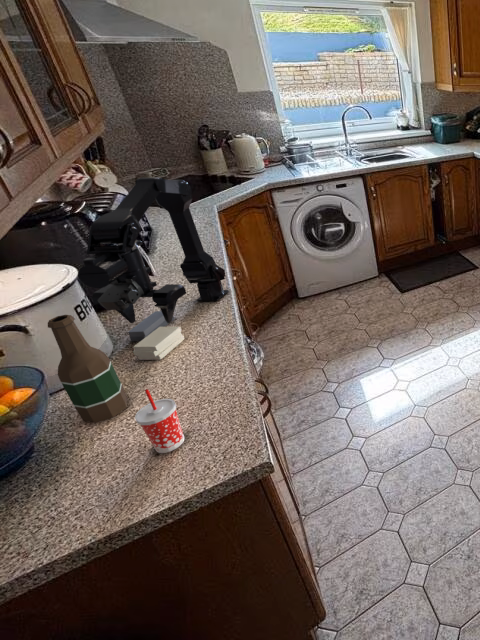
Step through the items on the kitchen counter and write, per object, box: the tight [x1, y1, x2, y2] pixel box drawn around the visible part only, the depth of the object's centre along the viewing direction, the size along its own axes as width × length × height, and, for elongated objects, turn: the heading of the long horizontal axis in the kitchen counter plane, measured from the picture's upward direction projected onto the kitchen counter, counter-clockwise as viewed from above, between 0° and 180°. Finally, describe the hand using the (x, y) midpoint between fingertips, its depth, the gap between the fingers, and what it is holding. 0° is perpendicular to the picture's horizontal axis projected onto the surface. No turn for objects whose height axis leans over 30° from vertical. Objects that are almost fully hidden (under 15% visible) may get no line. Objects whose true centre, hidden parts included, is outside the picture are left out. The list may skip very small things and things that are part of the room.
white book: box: [133, 326, 183, 351], centre depth 109 cm, size 9×6×1 cm, turn 2°
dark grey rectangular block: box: [127, 310, 175, 342], centre depth 117 cm, size 11×4×3 cm, turn 2°
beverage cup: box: [134, 388, 186, 454], centre depth 80 cm, size 6×6×14 cm
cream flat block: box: [132, 331, 185, 361], centre depth 109 cm, size 10×6×3 cm, turn 2°
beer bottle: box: [47, 314, 129, 424], centre depth 85 cm, size 8×8×24 cm
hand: (151, 322), depth 107 cm, fingers open, 9 cm apart
